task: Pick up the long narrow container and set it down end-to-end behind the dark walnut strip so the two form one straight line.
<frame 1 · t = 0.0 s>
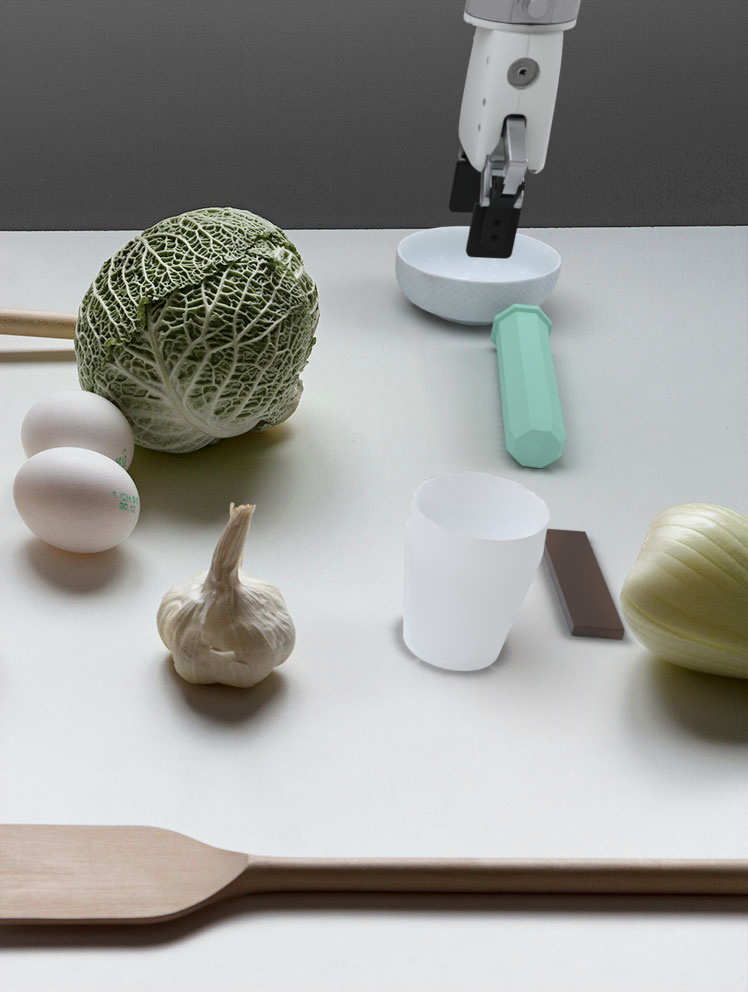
hand: (477, 233, 100), 23 cm above the table, tool pointing down, fingers open, 9 cm apart
cup: (449, 646, 94), on the table
cereal bowl: (466, 313, 143), on the table
walnut strip: (576, 588, 99), on the table
container: (521, 410, 124), on the table
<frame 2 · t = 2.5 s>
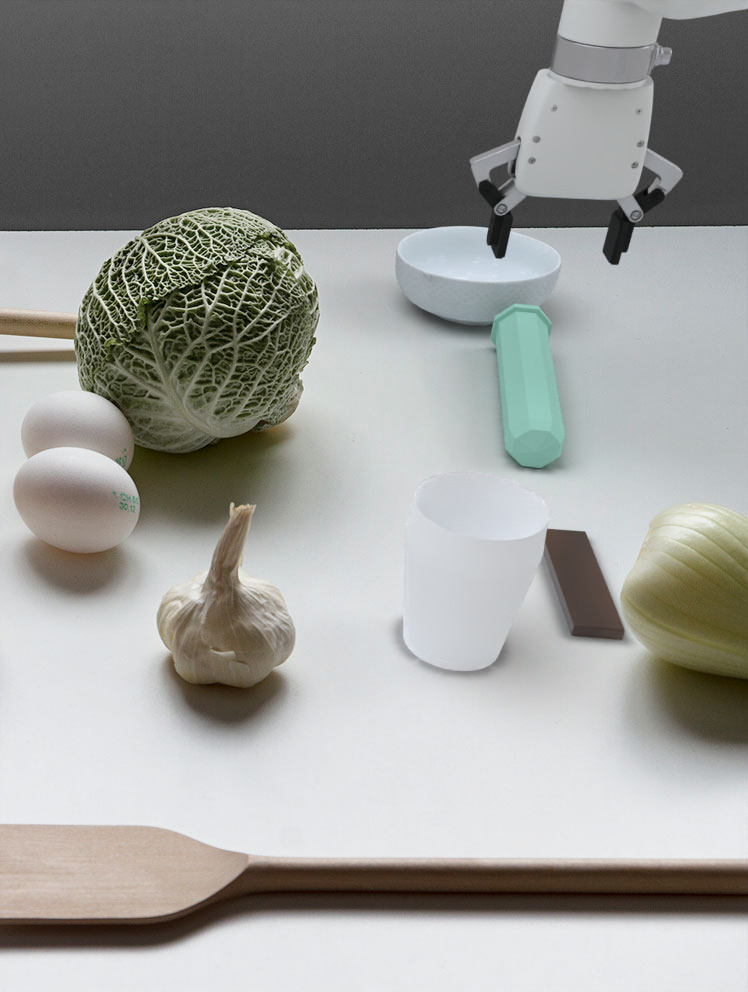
hand: (553, 256, 116), 15 cm above the table, tool pointing down, fingers open, 9 cm apart
nothing on the table moved.
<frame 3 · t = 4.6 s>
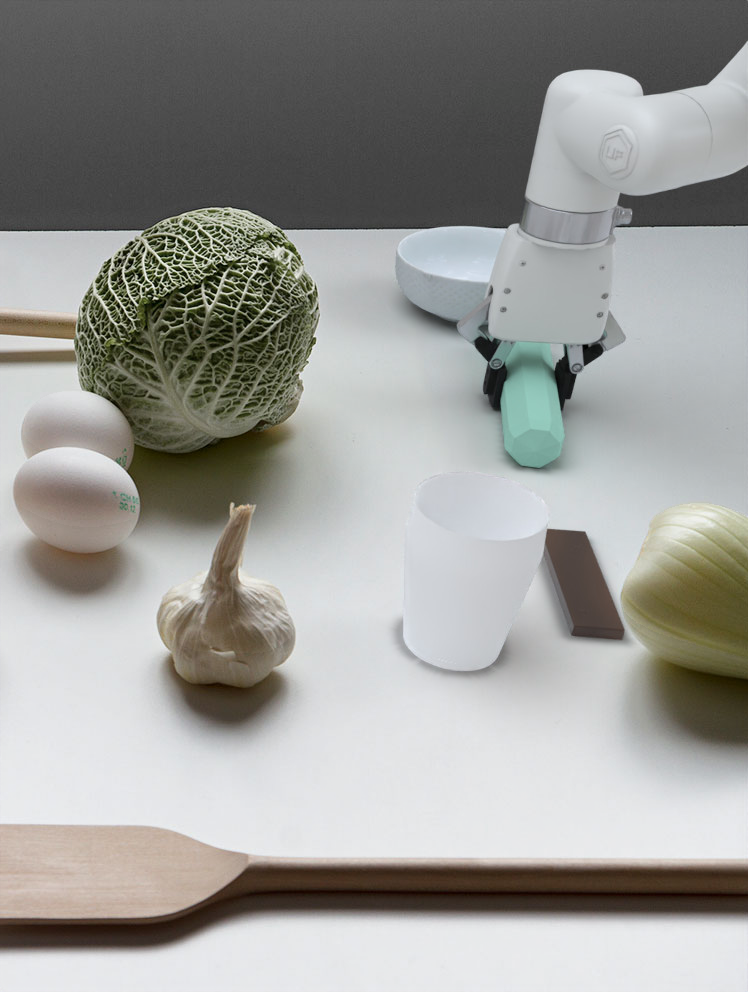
hand: (524, 401, 123), 1 cm above the table, tool pointing down, fingers closed on container, 5 cm apart
container: (520, 410, 124), on the table, touching gripper
everything else where it was.
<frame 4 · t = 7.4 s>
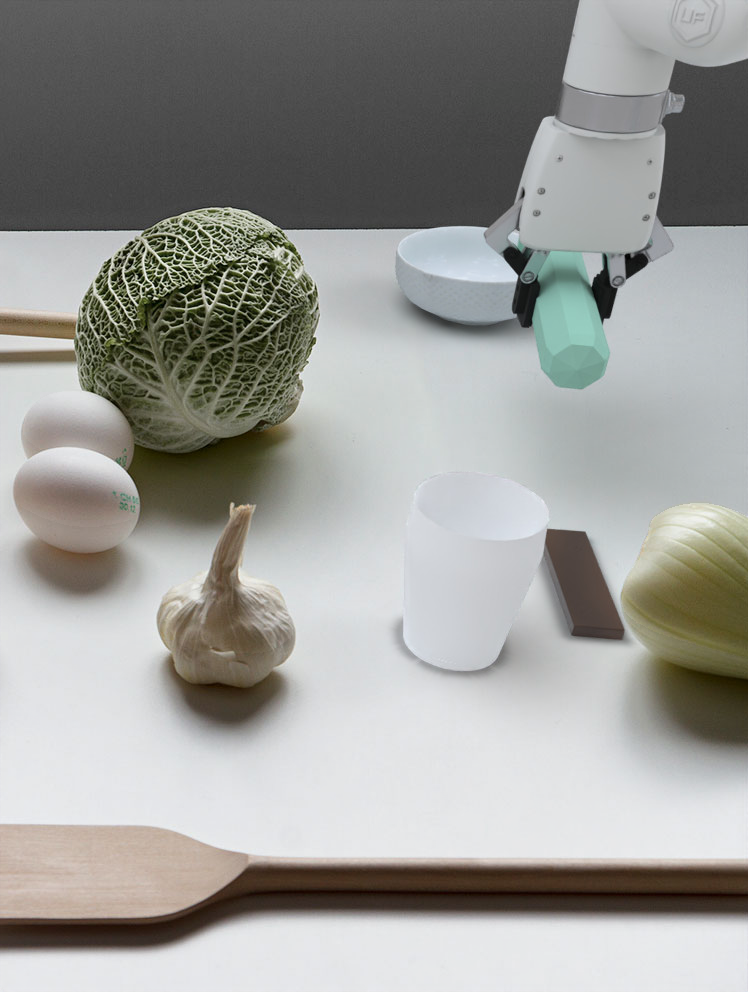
hand: (558, 321, 110), 13 cm above the table, tool pointing down, fingers closed on container, 4 cm apart
container: (553, 332, 110), point 12 cm above the table, touching gripper
everything else where it was.
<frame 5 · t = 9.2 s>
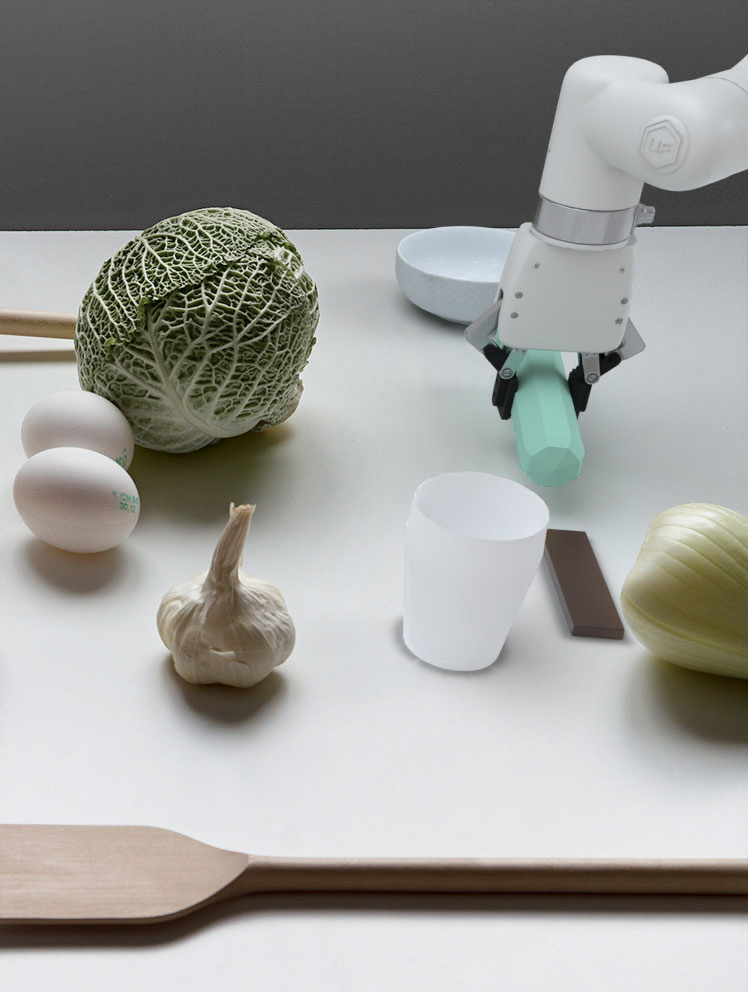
hand: (535, 413, 114), 4 cm above the table, tool pointing down, fingers closed on container, 4 cm apart
container: (531, 423, 115), point 3 cm above the table, touching gripper
everything else where it was.
when the fingers open (1 cm above the table, at t = 10.4 s): container stays where it is, on the table.
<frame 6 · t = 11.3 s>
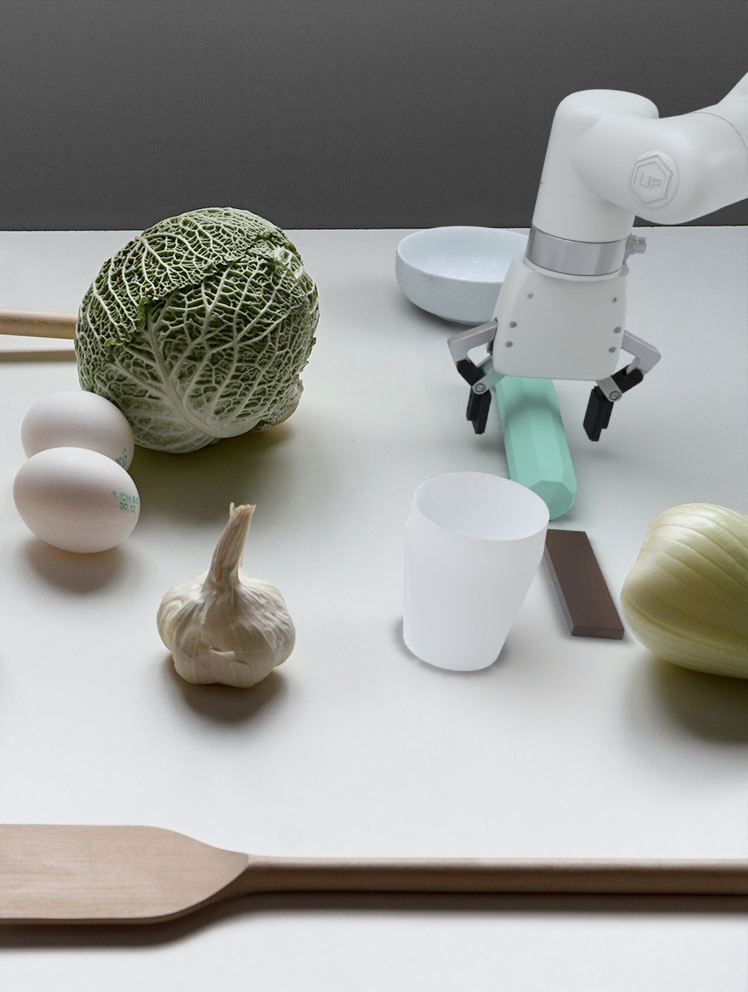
hand: (533, 430, 115), 2 cm above the table, tool pointing down, fingers open, 9 cm apart
container: (525, 454, 117), on the table
everything else where it was.
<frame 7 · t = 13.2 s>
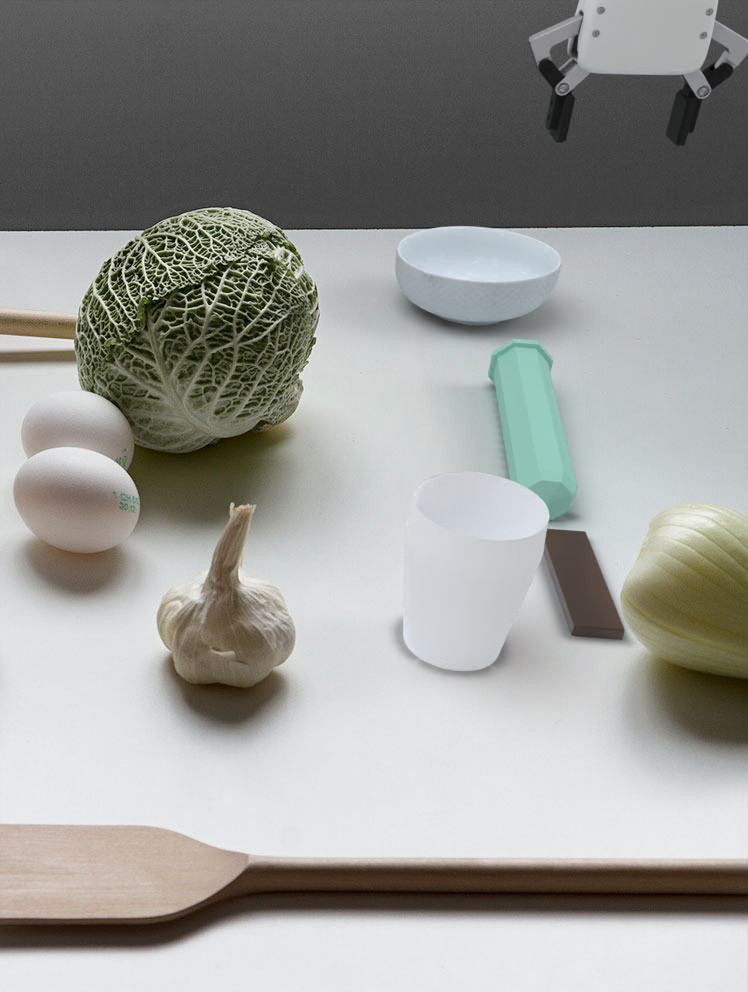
hand: (615, 139, 111), 25 cm above the table, tool pointing down, fingers open, 9 cm apart
nothing on the table moved.
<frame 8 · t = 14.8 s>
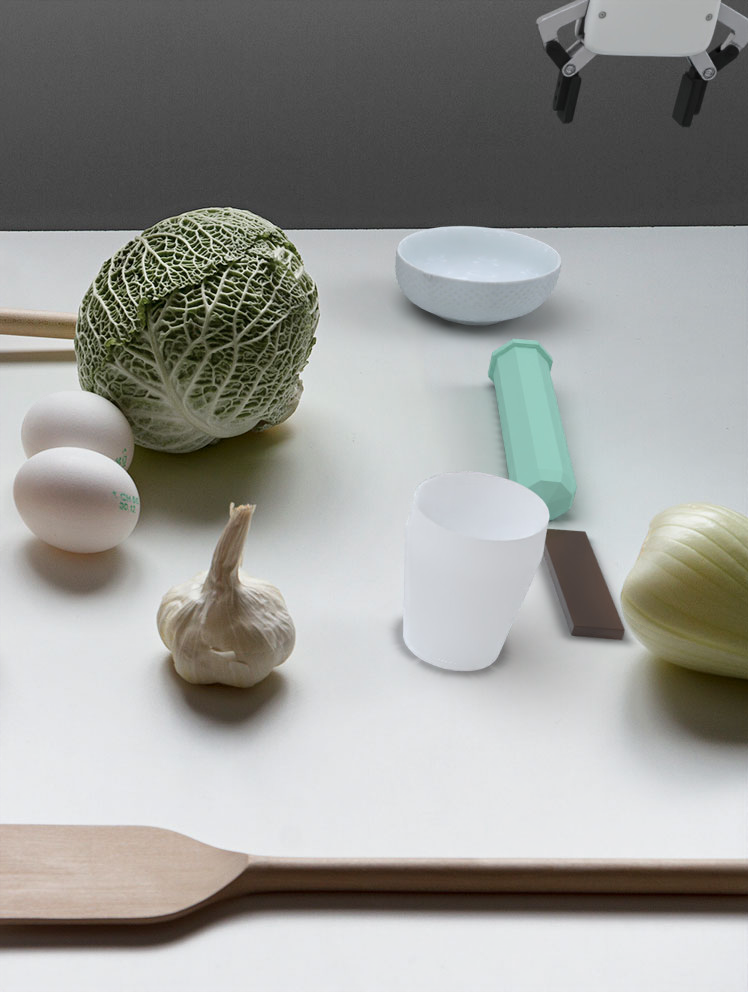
hand: (621, 121, 113), 26 cm above the table, tool pointing down, fingers open, 9 cm apart
nothing on the table moved.
at the end: container 0.6 cm from the target spot on the table beside the walnut strip, on the table; container tilted 2°; the gripper is holding nothing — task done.
